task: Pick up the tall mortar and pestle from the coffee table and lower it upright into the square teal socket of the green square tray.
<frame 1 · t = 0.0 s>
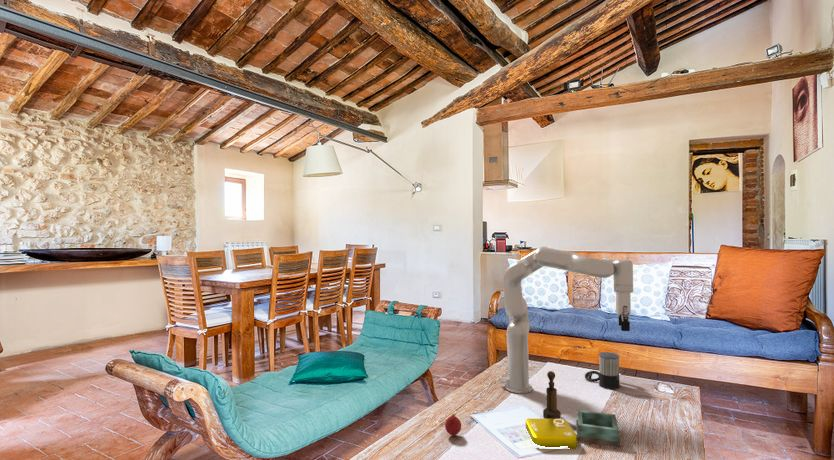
hand: (624, 328, 180), 31 cm above the table, tool pointing down, fingers open, 9 cm apart
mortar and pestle: (552, 417, 166), on the table
element tile: (550, 440, 149), on the table
milk frother: (602, 383, 201), on the table
onion: (453, 436, 152), on the table
green square tray: (597, 434, 151), on the table
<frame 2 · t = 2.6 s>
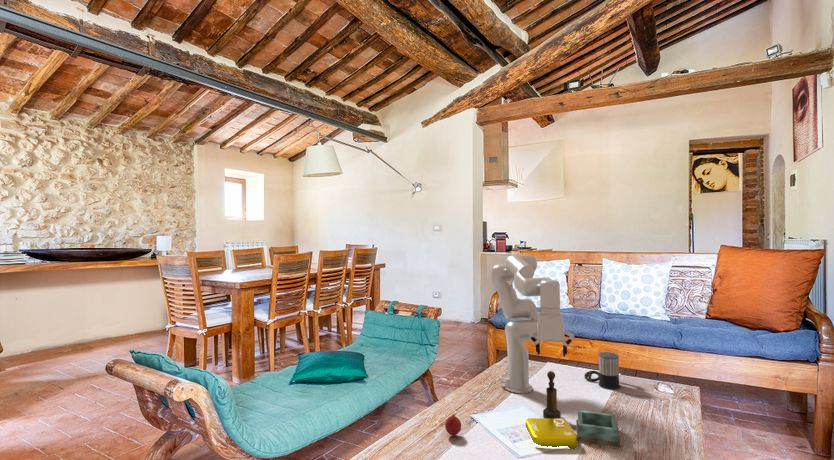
hand: (551, 354, 166), 25 cm above the table, tool pointing down, fingers open, 9 cm apart
nothing on the table moved.
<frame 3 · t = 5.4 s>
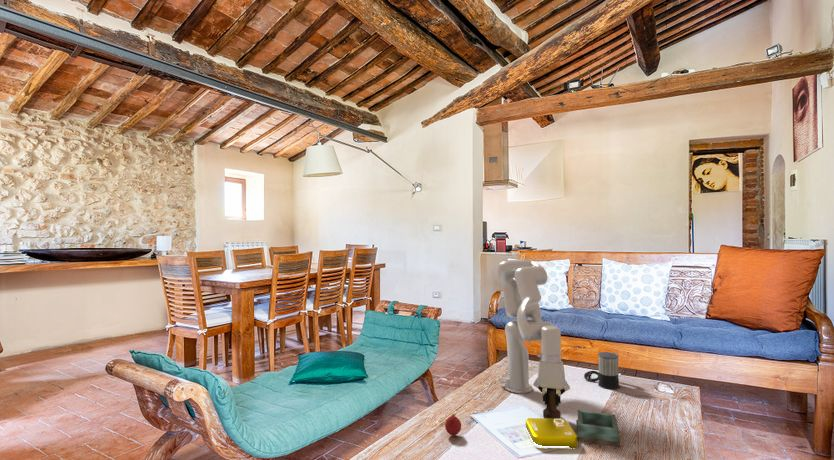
hand: (551, 403, 166), 5 cm above the table, tool pointing down, fingers closed on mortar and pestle, 3 cm apart
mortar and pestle: (552, 417, 166), on the table, touching gripper
everything else where it was.
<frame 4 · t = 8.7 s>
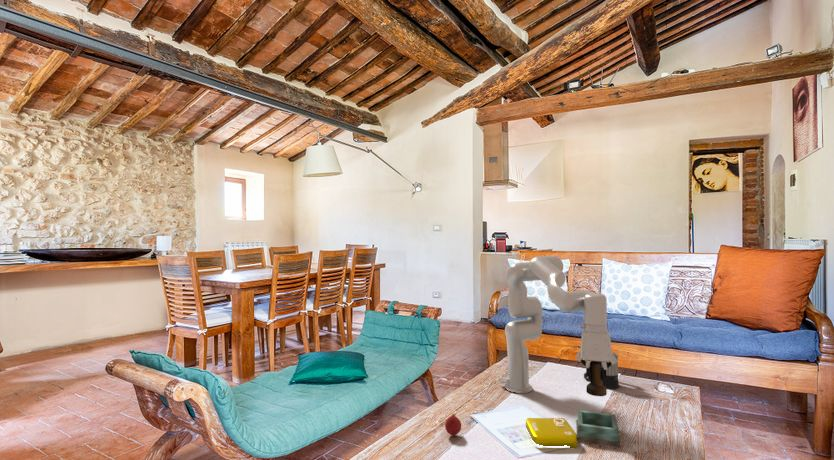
hand: (596, 378, 151), 20 cm above the table, tool pointing down, fingers closed on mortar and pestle, 3 cm apart
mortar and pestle: (596, 393, 151), point 15 cm above the table, touching gripper
everything else where it was.
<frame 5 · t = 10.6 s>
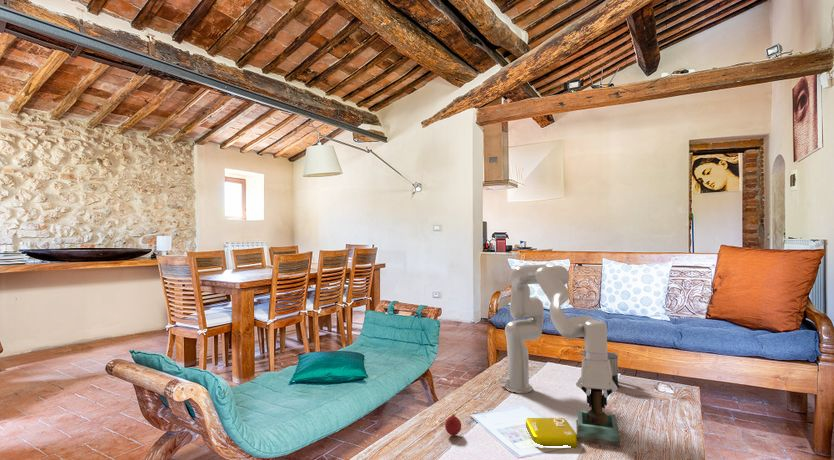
hand: (596, 405, 151), 11 cm above the table, tool pointing down, fingers closed on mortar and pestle, 3 cm apart
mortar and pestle: (597, 421, 151), point 5 cm above the table, touching gripper
everything else where it was.
when the fingers open (8 cm above the table, at t = 12.0 s): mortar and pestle drops 1 cm, resting on green square tray.
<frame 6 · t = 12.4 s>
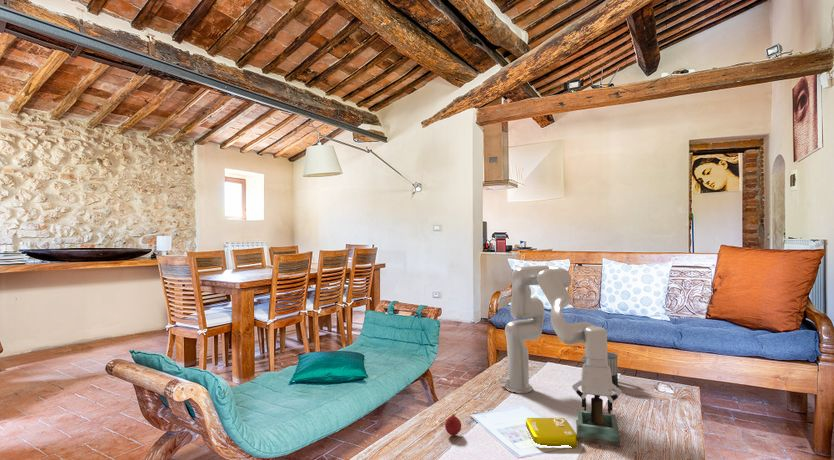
hand: (596, 410, 151), 9 cm above the table, tool pointing down, fingers open, 7 cm apart
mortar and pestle: (596, 430, 151), point 1 cm above the table, touching green square tray
everything else where it was.
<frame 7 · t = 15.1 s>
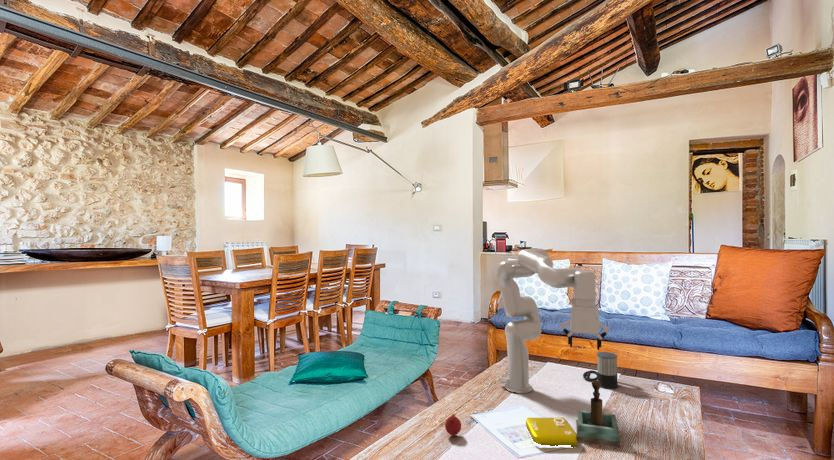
hand: (584, 347, 160), 29 cm above the table, tool pointing down, fingers open, 9 cm apart
nothing on the table moved.
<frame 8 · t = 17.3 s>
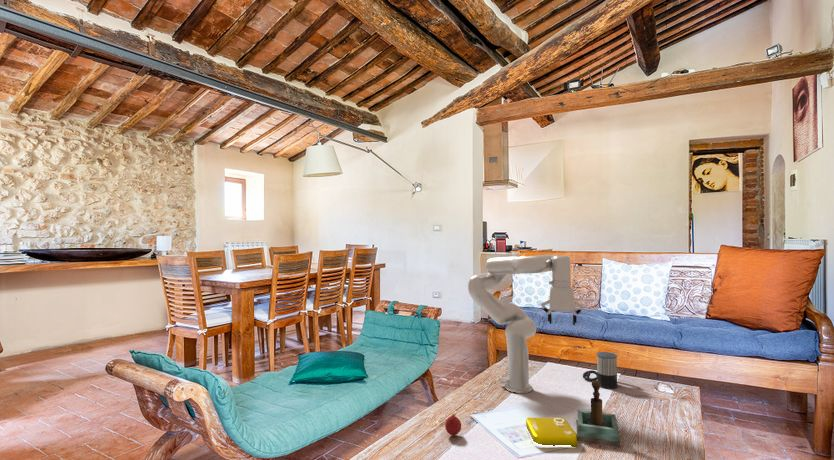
hand: (562, 323, 182), 33 cm above the table, tool pointing down, fingers open, 9 cm apart
nothing on the table moved.
at the end: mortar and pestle 0.1 cm off-centre on the green square tray, point 1.3 cm above the green square tray's base; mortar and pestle tilted 0°; the gripper is holding nothing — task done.
